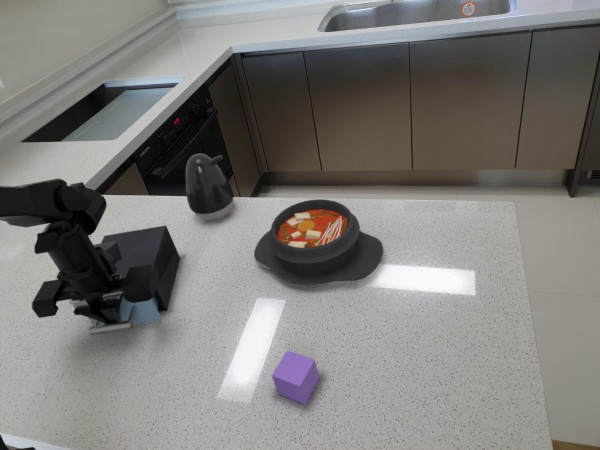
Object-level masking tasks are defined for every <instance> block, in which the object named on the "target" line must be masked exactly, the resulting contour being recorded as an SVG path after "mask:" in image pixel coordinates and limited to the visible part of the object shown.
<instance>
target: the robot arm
mask: <svg viewBox="0 0 600 450" xmlns="http://www.w3.org/2000/svg"><path fill="white" fill-rule="evenodd" d="M85 185H86V184H85V183H84V182H83V181H81V182H74V183H71V184H70V185H68V183H67V181H65V180H64V179H62V178H60V177H59V178H52V179H47V180H42V181H41V180H40V181H37V182H36V181H35V182H30V183H26V184H19V185H14V186H10V185H0V221H3V222H6V223H7V224H8V225H9V226H13V227H20V228H30V227H37V226H41V225H46V226H45V228H44V229H43V230H42V232H38V233H37V234H36V242H35V244H34V246H33V247H34V249H33V251H34V254H35V255H40V254H45V253H47V254H48V255H49V257H50V259H51V260H52V262H53V263H54V265H55V266H56V267H57V269H58V270H59V271H58V273H57V275H56V279H53V280H46V281H43V283H42V284H41V286H40V288H39V289H38V291H37V293H36V295H35V297H34V298H33V299H32V300H33V301H32V302H31V309H32V311H33V312H34V313H35V315H36V316H37V317H38V318H39V319H41V318H48V317H54V316H56V314H57V312H58V311H59V306H58V305H57V303H58V302H62V301H68V300H69V301H68V304H69V305H72V306H73V308H74V310H73V314H74V315H75V316H83V317H86V318H88V317H89V318H92V319H95V320H97V321H100V322H102V323H105V324H109V323H115V322H121V313H120V304H121V302H122V299H123V296H124V298H125V300H126V301H128V302H131V303H137V302H143V301H149V300H150V299H152V298H153V296H154V293H155V289H156V286H157V282H158V279H159V272H158V270H157V268H156V267H155V266H154V265H151V264H149V265H143V266H137V267H131V268H129V270H128V273H127V276H126V278H123V279H122V275H114V276H112V274H115V272H116V270H117V268H116V266H115V264H116V263H117V262H118V261H119V260H122V256H121V253H120V250H119V247H118V243H117V241H112V242H106V243H101V242H100V243H95V244H93V242H92V240H91V237H90V236H91V235H92V234H94V233H95V232H96V230H97V228H98V226H99V224H100V222H101V220H102V218H103V216H104V214H105V212H106V210H107V206H108V205H107V204H108V203H107V200H106V198H105V196H104V195H102V194H101V193H100V192H99V191H97V190H95V189H93V188H89V187H86V186H85ZM89 318H88V319H89ZM0 450H12V449H10V448H9V447H8V446H7V445H6V442H5V441H4V439H3V437H2V435H1V434H0ZM14 450H37V449H36V448H35V447H34V446H30V447H22V448H16V449H14Z"/></svg>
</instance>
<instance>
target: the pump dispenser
mask: <svg viewBox="0 0 600 450" xmlns="http://www.w3.org/2000/svg"><path fill="white" fill-rule="evenodd" d="M223 159H224V157H223V155H222V154H219V155H217V156H215V157H210V156H208V155H207V154H205V153H196V154H193V155H191V156H190V157H189V159H188V160H187V162H186V166H185V171H184V172H185V173H184V187H185V193H186V200H187V204H188V206H189V209H190V211H192V212H193V213H194V214H195V216H197V217H198V218H199V219H202V220H205V221H216V220H220V219H222V218H224V217H225V216H226V215H227V214H228V213H230V211H231V210H232V207H233V203H234V198H235V193H234V191H233V188H232V185H231V183H230V182H229V179H228V178H227V176H226V174H225V173H224V171H223V170H222V168H220V166H219V165H218V163H219V162H221V161H222V160H223Z"/></svg>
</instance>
